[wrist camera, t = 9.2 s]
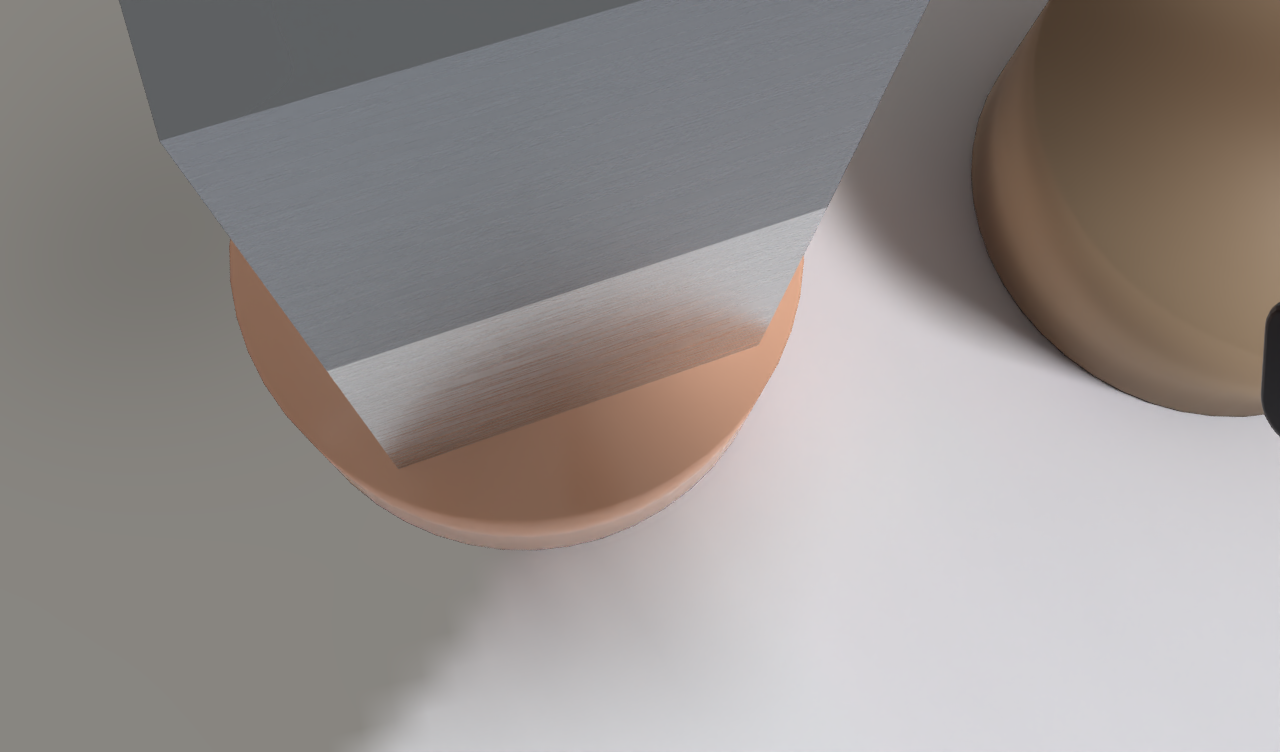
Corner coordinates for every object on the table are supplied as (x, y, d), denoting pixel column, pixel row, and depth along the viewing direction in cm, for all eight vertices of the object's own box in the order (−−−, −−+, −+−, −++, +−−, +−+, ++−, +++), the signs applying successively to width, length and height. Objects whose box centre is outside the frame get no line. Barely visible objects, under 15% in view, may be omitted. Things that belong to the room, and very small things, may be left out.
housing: (758, 346, 14) (977, -99, 6) (398, 468, 13) (159, 141, 6) (630, 33, 15) (685, -664, 7) (291, 135, 14) (-30, -519, 7)
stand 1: (722, 599, 16) (749, 578, 13) (216, 490, 16) (150, 449, 13) (807, 141, 18) (843, 51, 15) (356, 45, 18) (321, -60, 15)
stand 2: (1420, 462, 17) (1561, 419, 14) (943, 360, 17) (1005, 301, 14) (1425, 44, 19) (1551, -53, 16) (999, -45, 19) (1061, -156, 16)
